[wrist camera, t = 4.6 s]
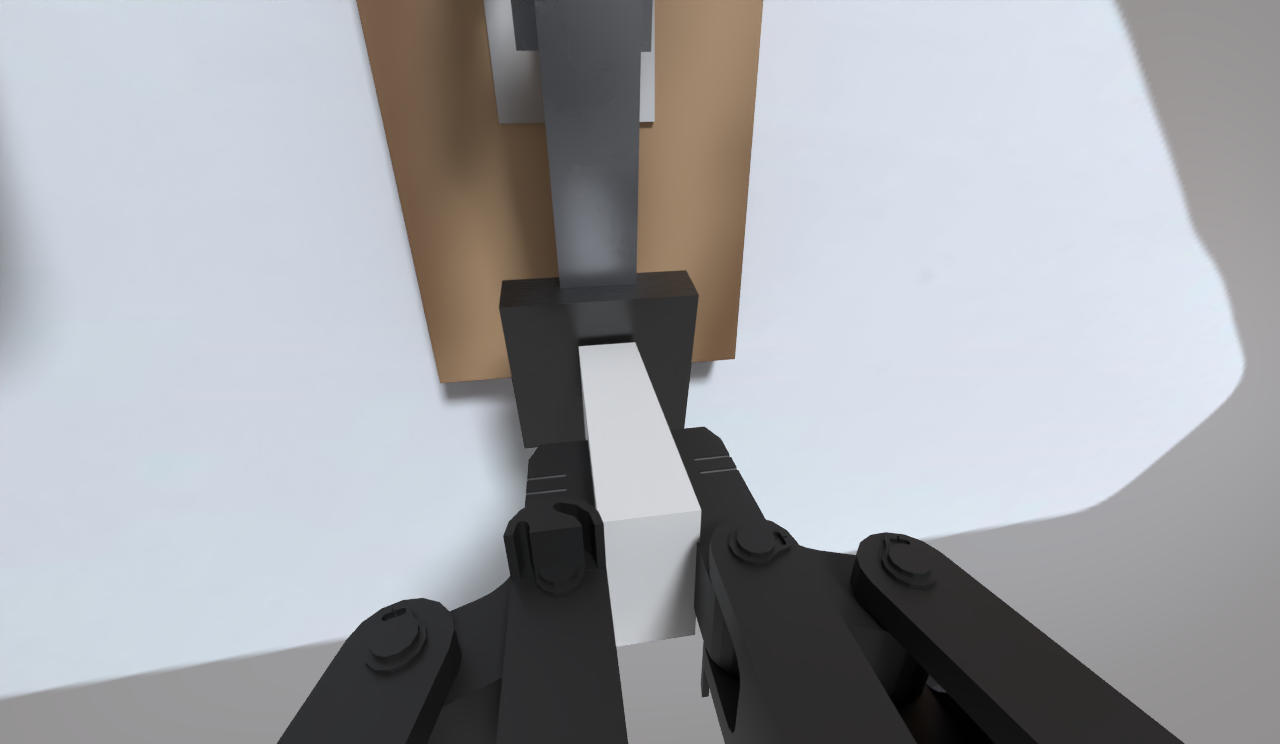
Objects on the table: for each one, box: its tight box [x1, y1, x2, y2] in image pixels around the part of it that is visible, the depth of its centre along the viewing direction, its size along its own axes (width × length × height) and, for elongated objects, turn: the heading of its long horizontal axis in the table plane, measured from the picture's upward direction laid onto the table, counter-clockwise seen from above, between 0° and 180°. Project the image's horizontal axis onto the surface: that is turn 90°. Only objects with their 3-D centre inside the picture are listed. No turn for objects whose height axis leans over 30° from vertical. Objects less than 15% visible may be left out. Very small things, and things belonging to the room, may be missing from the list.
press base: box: [356, 0, 763, 383], centre depth 13 cm, size 12×18×11 cm, turn 0°
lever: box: [499, 0, 699, 448], centre depth 12 cm, size 5×17×4 cm, turn 0°
